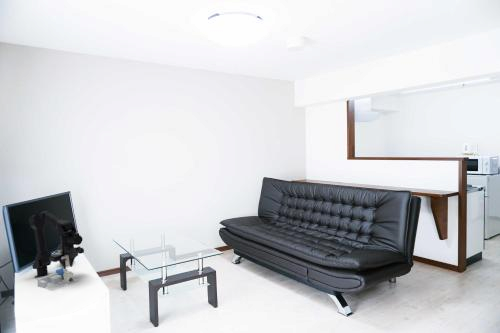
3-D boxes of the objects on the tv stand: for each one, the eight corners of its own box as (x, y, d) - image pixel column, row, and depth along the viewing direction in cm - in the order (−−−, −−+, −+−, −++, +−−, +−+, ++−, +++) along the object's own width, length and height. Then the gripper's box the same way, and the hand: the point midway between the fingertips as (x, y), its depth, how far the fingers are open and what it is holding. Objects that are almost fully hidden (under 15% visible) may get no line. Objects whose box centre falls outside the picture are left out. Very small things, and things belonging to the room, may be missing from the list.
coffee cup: (75, 262, 236) (74, 242, 235) (69, 267, 227) (67, 246, 226) (62, 263, 236) (61, 242, 234) (55, 268, 227) (54, 246, 225)
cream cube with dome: (59, 279, 206) (59, 272, 205) (65, 277, 209) (65, 270, 209) (68, 282, 201) (68, 275, 201) (74, 280, 205) (74, 273, 204)
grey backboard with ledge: (37, 287, 198) (37, 276, 197) (66, 276, 213) (65, 266, 213) (51, 292, 191) (51, 281, 191) (80, 280, 206) (79, 270, 206)
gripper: (59, 249, 190) (61, 276, 192) (89, 240, 207) (90, 265, 208) (47, 246, 196) (49, 272, 197) (77, 237, 212) (79, 261, 213)
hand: (68, 267), depth 204 cm, fingers open, 4 cm apart
